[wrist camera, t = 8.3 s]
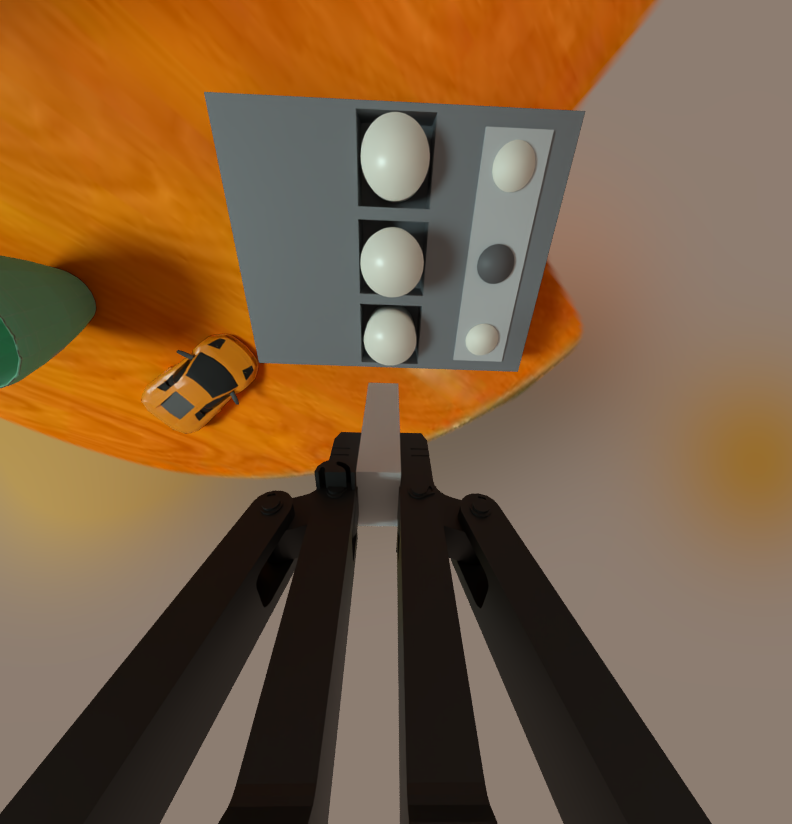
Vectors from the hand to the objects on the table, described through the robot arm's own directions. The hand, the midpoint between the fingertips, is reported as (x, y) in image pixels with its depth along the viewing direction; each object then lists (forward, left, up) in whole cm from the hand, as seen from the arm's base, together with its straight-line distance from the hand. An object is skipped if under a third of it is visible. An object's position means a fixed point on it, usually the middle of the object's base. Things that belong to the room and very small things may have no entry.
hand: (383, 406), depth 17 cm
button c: (0, +12, -15) cm, 19 cm away
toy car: (-20, -8, -17) cm, 28 cm away
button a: (0, 0, -15) cm, 15 cm away
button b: (0, +6, -14) cm, 15 cm away
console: (0, +6, -17) cm, 18 cm away
